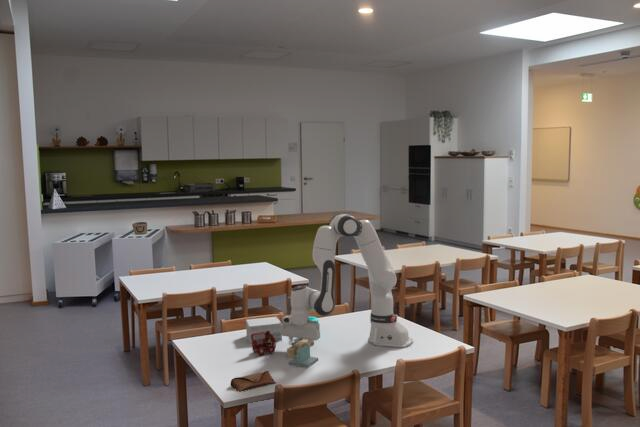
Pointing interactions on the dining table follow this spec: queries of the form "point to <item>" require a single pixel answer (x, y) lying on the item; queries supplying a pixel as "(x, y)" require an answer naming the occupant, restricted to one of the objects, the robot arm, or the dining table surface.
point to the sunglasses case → (252, 381)
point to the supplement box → (264, 327)
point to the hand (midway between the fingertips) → (300, 346)
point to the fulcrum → (303, 358)
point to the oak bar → (297, 347)
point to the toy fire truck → (263, 343)
